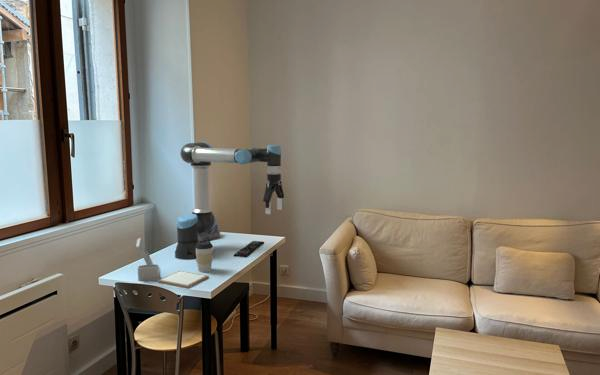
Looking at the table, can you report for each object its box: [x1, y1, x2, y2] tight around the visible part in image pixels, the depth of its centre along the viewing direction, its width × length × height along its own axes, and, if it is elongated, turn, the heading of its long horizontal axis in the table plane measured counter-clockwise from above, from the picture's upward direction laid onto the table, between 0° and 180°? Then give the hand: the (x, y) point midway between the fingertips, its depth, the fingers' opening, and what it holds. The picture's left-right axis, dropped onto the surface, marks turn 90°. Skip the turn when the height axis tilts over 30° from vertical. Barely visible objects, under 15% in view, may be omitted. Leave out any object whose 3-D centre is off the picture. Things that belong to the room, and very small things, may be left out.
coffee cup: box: [195, 240, 214, 273], centre depth 234 cm, size 9×9×15 cm
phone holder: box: [135, 237, 161, 282], centre depth 227 cm, size 17×10×18 cm, turn 17°
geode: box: [198, 224, 221, 242], centre depth 298 cm, size 20×12×10 cm, turn 159°
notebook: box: [157, 270, 209, 289], centre depth 220 cm, size 18×16×1 cm
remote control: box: [233, 240, 265, 258], centre depth 274 cm, size 8×32×2 cm, turn 165°
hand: (273, 211), depth 248 cm, fingers open, 13 cm apart
